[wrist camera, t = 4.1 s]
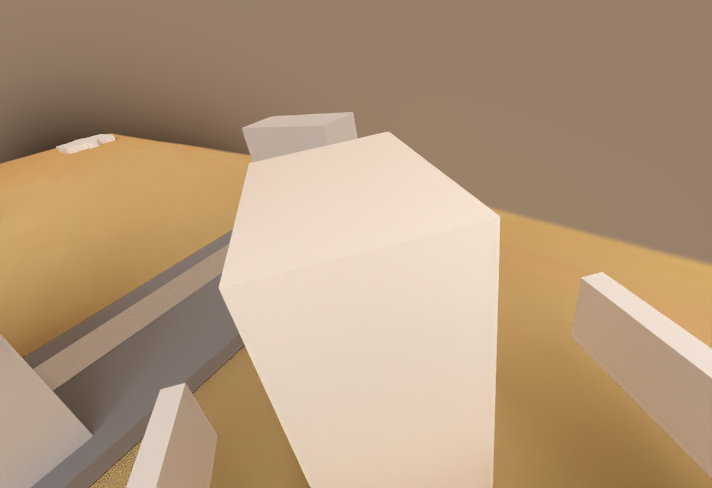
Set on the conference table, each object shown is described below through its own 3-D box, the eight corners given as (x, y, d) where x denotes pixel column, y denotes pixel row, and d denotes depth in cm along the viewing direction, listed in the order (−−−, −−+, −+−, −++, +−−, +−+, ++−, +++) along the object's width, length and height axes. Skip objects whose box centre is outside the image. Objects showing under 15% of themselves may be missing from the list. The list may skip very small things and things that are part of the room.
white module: (337, 548, 13) (218, 288, 7) (315, 358, 21) (249, 161, 15) (492, 498, 14) (500, 216, 8) (413, 331, 22) (386, 130, 16)
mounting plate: (57, 152, 115) (53, 146, 114) (100, 139, 123) (97, 133, 122) (72, 155, 104) (68, 149, 103) (119, 141, 112) (115, 135, 111)
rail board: (21, 549, 15) (4, 537, 15) (-43, 415, 22) (-56, 405, 22) (384, 218, 35) (382, 208, 34) (288, 204, 42) (285, 196, 42)
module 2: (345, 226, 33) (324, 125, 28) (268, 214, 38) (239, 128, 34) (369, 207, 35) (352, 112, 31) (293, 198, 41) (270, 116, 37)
